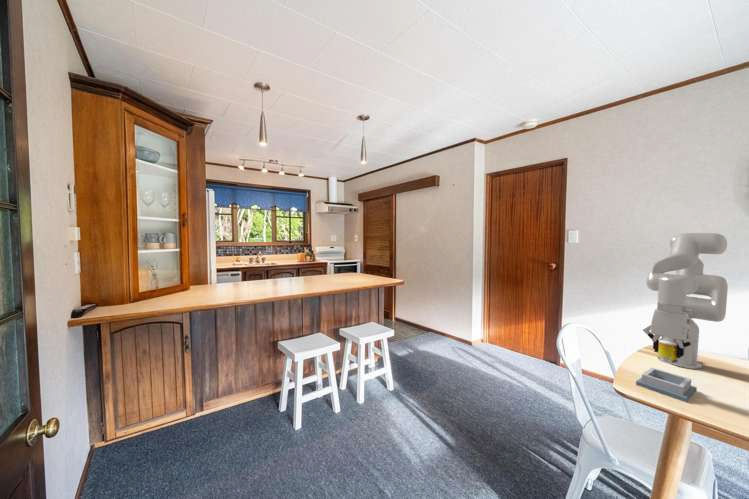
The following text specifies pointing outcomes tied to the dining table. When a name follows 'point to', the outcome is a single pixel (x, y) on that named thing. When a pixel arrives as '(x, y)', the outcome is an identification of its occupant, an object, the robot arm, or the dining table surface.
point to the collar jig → (667, 384)
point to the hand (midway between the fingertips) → (667, 353)
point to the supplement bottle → (667, 350)
